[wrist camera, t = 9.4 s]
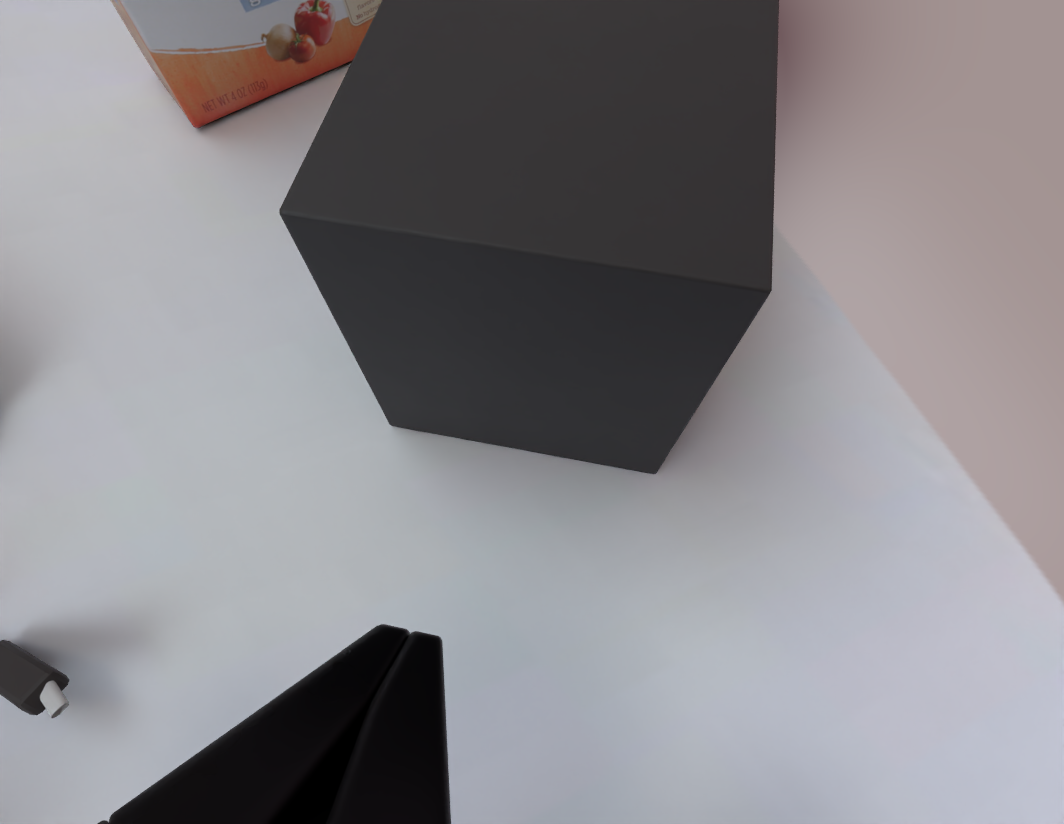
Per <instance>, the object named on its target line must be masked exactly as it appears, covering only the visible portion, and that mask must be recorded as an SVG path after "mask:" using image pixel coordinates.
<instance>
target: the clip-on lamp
mask: <svg viewBox="0 0 1064 824" xmlns="http://www.w3.org/2000/svg"><path fill="white" fill-rule="evenodd" d="M68 682H69V679H68V677H67V676H66V675H64V674H63V673H61V672H59V671H58V670H56V669H54V668H53V667H51V666H49V665H48V664H46V663H45V662H43V661H41V660H40V659H38V658H36V657H35V656H33V655H31V654H30V653H28V652H26V651H25V650H23V649H21V648H20V647H18V646H17V645H15V644H13V643H11V642H10V641H6V640H2V641H0V694H1V695H2V696H3V697H5V698H6V699H7V700H9V701H10V702H11V703H13V704H14V705H15V706H17V707H18V708H20V709H21V710H23V711H25V712H27V713H29V714H31V715H38V714H40V713H41V712H43V711H44V710H45V709H46V710H47V711H48V713H49V715H50V716H51V718H55V717H57V716H58V715H60V714H61V713H62V712H63V711H64V710H65V709H66V708H67V707H68V705H69V702H68V700H67V699H66V697H65V696H64V694H63V693H62V690H63V689H64V688H65V687H66V686H67V685H68Z"/></svg>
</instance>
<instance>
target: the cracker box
mask: <svg viewBox="0 0 1064 824" xmlns="http://www.w3.org/2000/svg"><path fill="white" fill-rule="evenodd" d="M111 2H112V4H113V5H114V7H115V9H116V10H117V12H118V14H119V15H120V17H121V19H122V20H123V22H124V24H125V25H126V27H127V29H128V30H129V32H130V34H131V35H132V37H133V39H134V40H135V42H136V43H137V45H138V47H139V48H140V50H141V52H142V53H143V55H144V57H145V58H146V60H147V62H148V63H149V65H150V66H151V68H152V69H153V71H154V72H155V74H156V75H157V76H158V78H159V79H160V81H161V82H162V83H163V85H164V86H165V87H166V89H167V90H168V92H169V93H170V94H171V96H172V97H173V98H174V100H175V101H176V102H177V104H178V105H179V106H180V108H181V109H182V111H183V112H184V113H185V115H186V116H187V117H188V119H189V120H190V122H191V123H192V125H193V126H194V127H195V128H200V127H201V126H203V125H205V124H207V123H210V122H212V121H214V120H216V119H219V118H221V117H223V116H226V115H228V114H230V113H232V112H235V111H237V110H239V109H242V108H244V107H246V106H248V105H251V104H253V103H255V102H258V101H260V100H262V99H265V98H267V97H269V96H272V95H274V94H276V93H278V92H281V91H283V90H285V89H288V88H290V87H292V86H295V85H297V84H300V83H302V82H304V81H306V80H309V79H311V78H313V77H315V76H318V75H320V74H322V73H325V72H327V71H329V70H331V69H334V68H337V67H339V66H341V65H343V64H345V63H348V62H350V61H353V59H354V57H355V55H356V53H357V51H358V49H359V47H360V45H361V43H362V41H363V39H364V37H365V34H366V32H367V30H368V28H369V26H370V24H371V22H372V20H373V18H374V16H375V14H376V12H377V10H378V8H379V6H380V4H381V2H382V0H111Z"/></svg>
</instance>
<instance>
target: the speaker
mask: <svg viewBox="0 0 1064 824" xmlns="http://www.w3.org/2000/svg"><path fill="white" fill-rule="evenodd" d="M778 14H779V0H382V2H381V4H380V6H379V8H378V10H377V12H376V14H375V16H374V18H373V20H372V22H371V24H370V26H369V28H368V30H367V32H366V34H365V37H364V39H363V41H362V43H361V45H360V47H359V49H358V51H357V53H356V55H355V57H354V59H353V61H352V63H351V65H350V67H349V69H348V71H347V73H346V75H345V77H344V79H343V81H342V83H341V86H340V88H339V90H338V92H337V94H336V96H335V98H334V100H333V102H332V104H331V106H330V108H329V110H328V112H327V114H326V116H325V118H324V120H323V122H322V124H321V126H320V128H319V130H318V132H317V134H316V137H315V139H314V141H313V143H312V145H311V147H310V149H309V151H308V153H307V155H306V157H305V159H304V161H303V163H302V165H301V167H300V169H299V171H298V173H297V175H296V177H295V179H294V181H293V183H292V186H291V188H290V190H289V192H288V194H287V196H286V198H285V200H284V202H283V204H282V206H281V208H280V215H281V217H282V219H283V221H284V223H285V225H286V227H287V229H288V231H289V233H290V234H291V236H292V238H293V240H294V242H295V244H296V246H297V248H298V250H299V252H300V254H301V255H302V257H303V259H304V261H305V263H306V265H307V267H308V269H309V271H310V273H311V275H312V276H313V278H314V280H315V282H316V284H317V286H318V288H319V290H320V292H321V294H322V296H323V298H324V299H325V301H326V303H327V305H328V307H329V309H330V311H331V313H332V315H333V317H334V319H335V320H336V322H337V324H338V326H339V328H340V330H341V332H342V334H343V336H344V338H345V340H346V341H347V343H348V345H349V347H350V349H351V351H352V353H353V355H354V357H355V359H356V361H357V362H358V364H359V366H360V368H361V370H362V372H363V374H364V376H365V378H366V380H367V382H368V384H369V385H370V387H371V389H372V391H373V393H374V395H375V397H376V399H377V401H378V403H379V405H380V406H381V408H382V410H383V412H384V414H385V416H386V418H387V420H388V422H389V424H390V425H392V426H397V427H403V428H408V429H413V430H419V431H424V432H430V433H435V434H441V435H446V436H451V437H457V438H462V439H468V440H473V441H478V442H484V443H489V444H495V445H500V446H506V447H511V448H516V449H522V450H527V451H533V452H538V453H543V454H549V455H554V456H560V457H565V458H570V459H576V460H581V461H587V462H592V463H598V464H603V465H608V466H614V467H619V468H625V469H630V470H635V471H641V472H646V473H652V474H656V473H657V471H658V469H659V468H660V466H661V465H662V463H663V461H664V460H665V458H666V457H667V455H668V454H669V452H670V450H671V449H672V447H673V446H674V444H675V442H676V441H677V439H678V438H679V436H680V435H681V433H682V431H683V430H684V428H685V427H686V425H687V424H688V422H689V420H690V419H691V417H692V416H693V414H694V412H695V411H696V409H697V408H698V406H699V405H700V403H701V401H702V400H703V398H704V397H705V395H706V394H707V392H708V390H709V389H710V387H711V386H712V384H713V382H714V381H715V379H716V378H717V376H718V375H719V373H720V371H721V370H722V368H723V367H724V365H725V364H726V362H727V360H728V359H729V357H730V356H731V354H732V352H733V351H734V349H735V348H736V346H737V345H738V343H739V341H740V340H741V338H742V337H743V335H744V333H745V332H746V330H747V329H748V327H749V326H750V324H751V322H752V321H753V319H754V318H755V316H756V315H757V313H758V311H759V310H760V308H761V307H762V305H763V303H764V302H765V300H766V299H767V297H768V296H769V294H770V292H771V291H772V251H773V211H774V209H773V208H774V173H775V132H776V93H777V53H778Z"/></svg>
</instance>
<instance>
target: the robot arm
mask: <svg viewBox="0 0 1064 824" xmlns="http://www.w3.org/2000/svg"><path fill="white" fill-rule="evenodd" d="M98 824H451V814H450V794H449V773H448V752H447V731H446V710H445V690H444V669H443V648H442V640H441V638H440V637H439V636H435V635H431V634H426V633H422V632H417V631H415V632H412V633H411V634H410V632H409V631H408V630H407V629H403V628H399V627H394V626H390V625H385V624H382V625H379V626H376V627H375V628H373V629H372V630H371V631H369V632H368V633H366V634H365V635H363V636H362V637H361V638H359V639H358V640H356V641H355V642H354V643H352V644H351V645H349V646H348V647H347V648H345V649H344V650H342V651H341V652H340V653H338V654H337V655H335V656H334V657H332V658H331V659H330V660H328V661H327V662H325V663H324V664H323V665H321V666H320V667H318V668H317V669H316V670H314V671H313V672H311V673H310V674H309V675H307V676H306V677H304V678H303V679H301V680H300V681H299V682H297V683H296V684H294V685H293V686H292V687H290V688H289V689H287V690H286V691H285V692H283V693H282V694H280V695H279V696H278V697H276V698H275V699H273V700H272V701H270V702H269V703H268V704H266V705H265V706H263V707H262V708H261V709H259V710H258V711H256V712H255V713H254V714H252V715H251V716H249V717H248V718H247V719H245V720H244V721H242V722H241V723H239V724H238V725H237V726H235V727H234V728H232V729H231V730H230V731H228V732H227V733H225V734H224V735H223V736H221V737H220V738H218V739H217V740H216V741H214V742H213V743H211V744H210V745H208V746H207V747H206V748H204V749H203V750H201V751H200V752H199V753H197V754H196V755H194V756H193V757H192V758H190V759H189V760H187V761H186V762H185V763H183V764H182V765H180V766H179V767H177V768H176V769H175V770H173V771H172V772H170V773H169V774H168V775H166V776H165V777H163V778H162V779H161V780H159V781H158V782H156V783H155V784H154V785H152V786H151V787H149V788H148V789H146V790H145V791H144V792H142V793H141V794H139V795H138V796H137V797H135V798H134V799H132V800H131V801H130V802H128V803H127V804H125V805H124V806H123V807H121V808H120V809H118V810H117V811H115V812H114V813H113V814H112V815H111V817H110V820H109V823H108V821H105V820H104V821H101V822H99V823H98Z"/></svg>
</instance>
